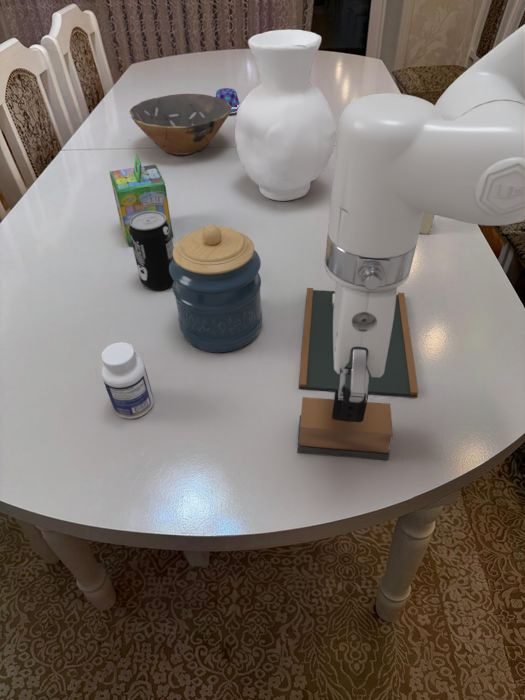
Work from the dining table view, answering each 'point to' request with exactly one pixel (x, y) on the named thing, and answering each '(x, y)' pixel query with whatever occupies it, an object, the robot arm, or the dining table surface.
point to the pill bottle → (126, 380)
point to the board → (321, 360)
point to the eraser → (344, 431)
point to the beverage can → (152, 248)
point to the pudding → (229, 97)
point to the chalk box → (139, 193)
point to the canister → (217, 288)
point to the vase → (284, 117)
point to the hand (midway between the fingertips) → (346, 384)
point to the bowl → (181, 121)
